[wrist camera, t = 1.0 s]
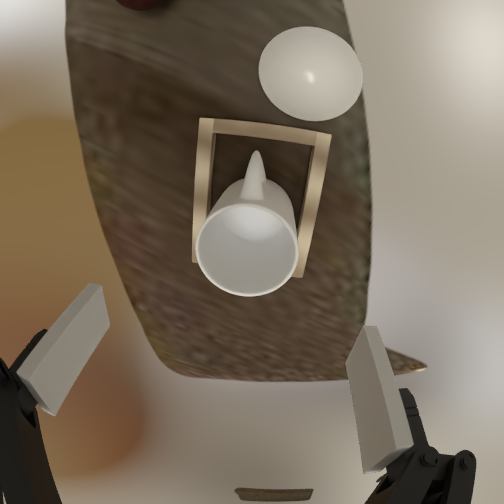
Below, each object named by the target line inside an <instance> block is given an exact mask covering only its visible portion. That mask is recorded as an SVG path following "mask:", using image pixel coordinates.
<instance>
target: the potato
mask: <svg viewBox="0 0 504 504" xmlns="http://www.w3.org/2000/svg"><path fill="white" fill-rule="evenodd" d="M116 1H117V2H118V3H120V4H121V5H122V6H125V7H128V8H131V9H134V10H138V11H139V10H149V9H151V8H152V7H154V6H156V5H157V4H159V3H160V2H161V1H162V0H116Z"/></svg>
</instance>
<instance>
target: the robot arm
mask: <svg viewBox="0 0 504 504" xmlns="http://www.w3.org/2000/svg"><path fill="white" fill-rule="evenodd" d="M109 327H110V322H109V318H108V313H107V309H106V305H105V300H104V295H103V290H102V286H101V285H98V284H94V283H89V284H88V285H87V286H86V287H85V288H84V290H83V291H82V292H81V293H80V294H79V295H78V296H77V297H76V298H75V300H74V301H73V302H72V303H71V304H70V305H69V307H68V308H67V309H66V310H65V311H64V312H63V313H62V315H61V316H60V317H59V318H58V319H57V321H56V322H55V323H54V324H53V325H52V326H51V328H50V329H49V330H46V329H43V330H42V331H40V332H38V333H37V334H36V335H35V336H34V337H33V339H32V340H31V341H30V343H28V345H27V346H26V348H25V349H24V350H23V351H22V352H21V354H20V355H19V356H18V357H17V359H16V360H15V362H14V363H13V364H12V365H11V367H10V368H9V369H8V367H7V366H6V364H5V363H4V361H3V360H2V359H1V358H0V504H4V503H3V493H4V497H5V500H6V504H62V502H61V499H60V496H59V494H58V491H57V488H56V485H55V482H54V479H53V476H52V473H51V470H50V466H49V463H48V459H47V455H46V451H45V448H44V444H43V439H42V435H41V430H40V425H39V419H38V413H37V410H36V408H35V406H36V405H37V403H38V404H39V406H40V407H41V408H42V410H44V411H46V412H47V413H49V414H51V415H53V416H55V415H56V414H57V412H58V410H59V408H60V406H61V405H62V403H63V401H64V399H65V397H66V396H67V394H68V392H69V391H70V389H71V387H72V385H73V384H74V382H75V380H76V379H77V377H78V375H79V374H80V372H81V370H82V369H83V367H84V366H85V364H86V362H87V361H88V359H89V357H90V356H91V354H92V353H93V351H94V350H95V348H96V347H97V345H98V343H99V342H100V340H101V339H102V337H103V335H104V334H105V333H106V331H107V330H108V328H109ZM346 368H347V373H348V379H349V384H350V389H351V394H352V400H353V406H354V412H355V418H356V424H357V431H358V438H359V444H360V451H361V459H362V468H363V474H366V473H375V472H380V471H381V470H383V469H384V468H385V467H386V469H387V473H386V474H384V475H383V476H381V477H380V478H379V479H378V480H377V481H376V482H379V481H380V483H379V484H378V486H377V487H376V488H375V490H374V492H373V493H372V494H371V495H370V497H369V498H368V500H367V501H366V502H365V504H471V499H472V493H473V486H474V480H475V472H476V458H475V456H474V454H473V453H472V452H470V451H468V450H463V451H460V452H459V453H457V454H456V455H455V456H454V455H444V454H439V453H438V451H437V450H436V449H435V448H433V447H430V446H429V445H428V442H427V439H426V435H425V432H424V428H423V425H422V421H421V418H420V416H419V411H418V409H417V405H416V402H415V399H414V397H413V395H412V394H411V393H410V391H409V390H408V389H407V388H402V389H398V386H397V383H396V380H395V377H394V374H393V371H392V368H391V365H390V362H389V359H388V356H387V353H386V350H385V348H384V345H383V342H382V339H381V337H380V334H379V331H378V328H377V326H363V327H362V329H361V331H360V333H359V336H358V338H357V340H356V342H355V344H354V346H353V348H352V350H351V353H350V355H349V357H348V359H347V361H346Z"/></svg>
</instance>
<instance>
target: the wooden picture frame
mask: <svg viewBox="0 0 504 504" xmlns="http://www.w3.org/2000/svg"><path fill="white" fill-rule="evenodd" d="M216 133H222V134H233V135H243V136H252V137H260V138H268V139H275V140H282V141H288V142H295V143H301V144H306V145H312V151H311V157H310V163H309V169H308V175H307V180H306V186H305V192H304V197H303V203H302V208H301V213H300V219H299V224H298V229H297V239H298V246H299V258H298V262H297V266H296V268H295V270H294V272H293V274H292V276H291V277H299V278H302V277H303V273H304V268H305V264H306V260H307V256H308V251H309V247H310V243H311V238H312V234H313V229H314V224H315V220H316V215H317V210H318V205H319V201H320V196H321V191H322V185H323V180H324V175H325V170H326V164H327V159H328V153H329V147H330V141H331V134H327V133H322V132H317V131H312V130H306V129H300V128H294V127H288V126H281V125H274V124H267V123H259V122H250V121H241V120H230V119H218V118H200V121H199V132H198V144H197V157H196V171H195V188H194V209H193V238H192V262H195V263H198V261H197V257H196V250H195V244H196V238H197V234H198V231H199V229H200V227H201V226H202V224H203V222H204V221H205V219H206V218H207V216H208V215H209V213H210V203H211V189H212V176H213V164H214V153H215V142H216Z"/></svg>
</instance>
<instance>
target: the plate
mask: <svg viewBox="0 0 504 504" xmlns="http://www.w3.org/2000/svg"><path fill="white" fill-rule="evenodd" d="M259 78H260V83H261V85H262V88H263V90H264V92H265V94H266V95H267V97H268V98H269V100H270V101H271V102H272V103H273V104H274V105H275V106H276V107H277V108H279V109H280V110H281V111H283V112H284V113H286V114H288V115H290V116H292V117H295V118H298V119H302V120H307V121H324V120H329V119H332V118H335V117H337V116H339V115H341V114H343V113H344V112H346V111H347V110H348V109H349V108H350V107H351V106H352V105H353V104H354V103H355V102H356V100H357V98H358V97H359V94H360V92H361V89H362V84H363V73H362V68H361V64H360V61H359V59H358V57H357V55H356V53H355V52H354V50H353V49H352V48H351V47H350V45H349V44H348V43H347V42H345V41H344V40H343V39H342V38H340V37H339V36H337V35H336V34H334V33H332V32H330V31H327V30H325V29H321V28H317V27H296V28H292V29H289V30H286V31H284V32H282V33H280V34H278V35H277V36H276V37H274V38H273V39H272V40H271V41H270V42H269V43H268V44H267V46H266V47H265V49H264V50H263V52H262V55H261V57H260V62H259Z"/></svg>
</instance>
